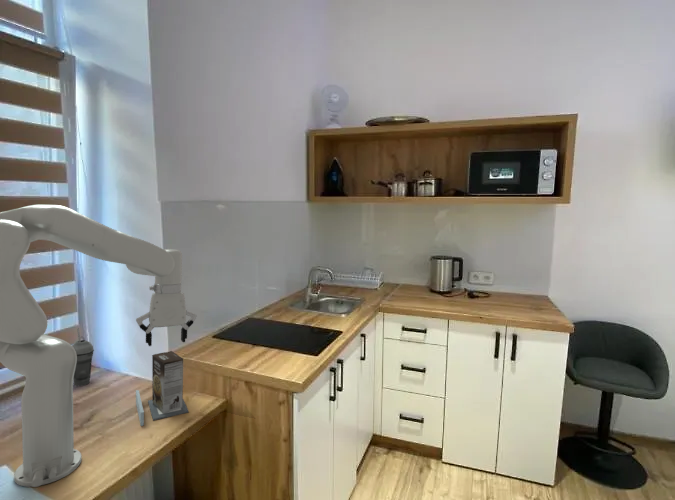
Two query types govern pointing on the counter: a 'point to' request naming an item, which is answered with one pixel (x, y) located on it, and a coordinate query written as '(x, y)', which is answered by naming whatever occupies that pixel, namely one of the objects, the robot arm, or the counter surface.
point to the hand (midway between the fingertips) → (166, 343)
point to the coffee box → (167, 381)
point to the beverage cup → (82, 361)
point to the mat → (159, 415)
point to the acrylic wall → (139, 408)
